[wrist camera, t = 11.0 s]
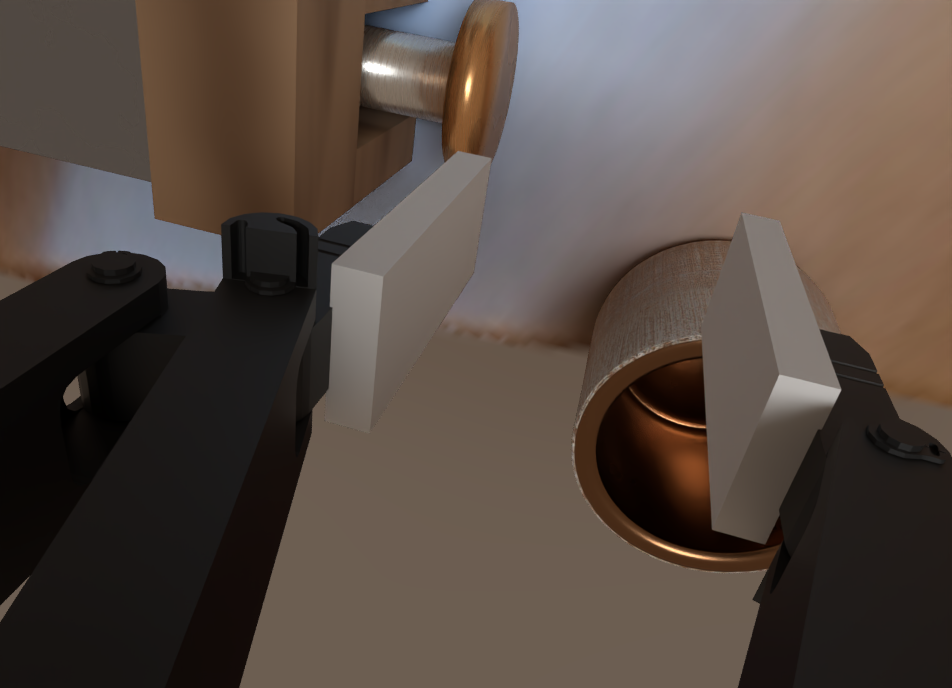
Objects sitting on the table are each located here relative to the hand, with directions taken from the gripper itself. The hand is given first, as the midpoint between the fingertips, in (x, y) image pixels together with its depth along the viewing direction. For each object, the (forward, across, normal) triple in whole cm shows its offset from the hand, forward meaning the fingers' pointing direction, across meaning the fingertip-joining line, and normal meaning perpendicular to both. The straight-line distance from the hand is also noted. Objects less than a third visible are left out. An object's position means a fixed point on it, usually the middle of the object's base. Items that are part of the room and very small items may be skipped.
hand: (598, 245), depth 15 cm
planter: (+17, +6, -10) cm, 21 cm away
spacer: (+17, -12, 0) cm, 21 cm away
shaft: (+16, -12, 0) cm, 21 cm away
